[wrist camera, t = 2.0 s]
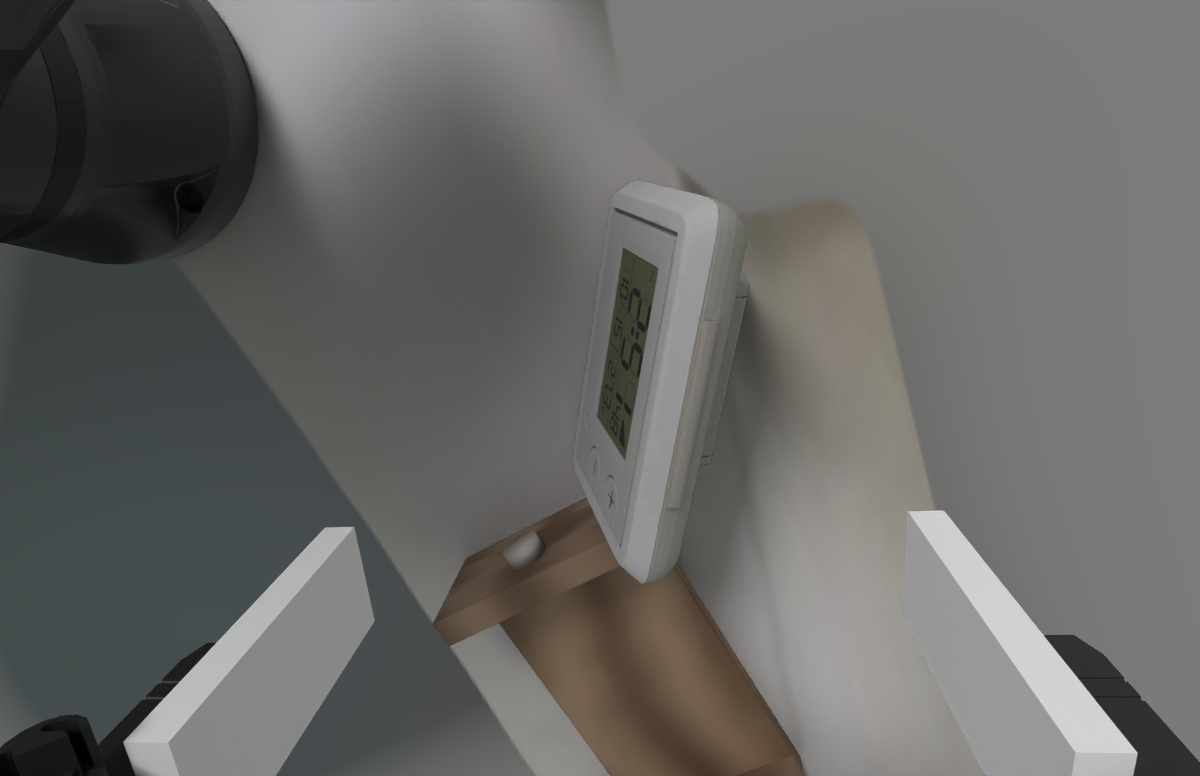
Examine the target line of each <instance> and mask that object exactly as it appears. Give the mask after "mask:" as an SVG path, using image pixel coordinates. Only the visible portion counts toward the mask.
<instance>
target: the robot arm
mask: <svg viewBox="0 0 1200 776" xmlns="http://www.w3.org/2000/svg"><path fill="white" fill-rule="evenodd" d="M256 152H257V116H256V108H255V102H254V96H253V92H252V88H251V84H250V80H249V77H248V74H247V71H246V68H245V65H244V63H243V60H242V58H241V55H240V53H239V51H238V49H237V47H236V44H235V42H234V41H233V39H232V37H231V35H230V33H229V31H228V30H227V28H226V27H225V25H224V23H223V22H222V20H221V19H220V17H219V16H218V15H217V13H216V12H215V10H214V9H213V8H212V7H211V5H210V4H209V3H208V2H207V0H0V243H4V244H9V245H13V246H18V247H23V248H27V249H32V250H37V251H41V252H46V253H51V254H56V255H60V256H64V257H69V258H74V259H78V260H83V261H88V262H94V263H103V264H134V263H142V262H147V261H152V260H158V259H164V258H169V257H173V256H177V255H180V254H183V253H186V252H188V251H191V250H193V249H195V248H197V247H199V246H201V245H202V244H204V243H205V242H207V241H208V240H210V239H211V238H212V237H214V236H215V235H216V234H217V233H218V232H219V231H220V230H221V229H222V228H223V227H224V226H225V225H226V224H227V223H228V222H229V221H230V219H231V218H232V217H233V215H234V214H235V213H236V211H237V209H238V208H239V206H240V204H241V202H242V200H243V198H244V196H245V194H246V192H247V189H248V187H249V184H250V181H251V177H252V174H253V170H254V165H255V159H256ZM902 617H903V619H904V621H905V623H906V625H907V627H908V629H909V631H910V632H911V634H912V636H913V638H914V640H915V642H916V644H917V646H918V648H919V650H920V652H921V654H922V655H923V657H924V659H925V661H926V663H927V665H928V667H929V669H930V671H931V673H932V675H933V677H934V679H935V680H936V682H937V684H938V686H939V688H940V690H941V692H942V694H943V696H944V698H945V700H946V702H947V703H948V705H949V707H950V709H951V711H952V713H953V715H954V717H955V719H956V721H957V723H958V725H959V727H960V728H961V730H962V732H963V734H964V736H965V738H966V740H967V742H968V744H969V746H970V748H971V750H972V751H973V753H974V755H975V757H976V759H977V761H978V763H979V765H980V767H981V769H982V771H983V773H984V775H985V776H1200V762H1199V761H1198V760H1197V759H1196V758H1195V757H1194V755H1193V754H1192V753H1191V752H1190V751H1189V750H1188V749H1187V748H1186V746H1185V745H1184V744H1183V743H1182V742H1181V741H1180V740H1179V739H1178V738H1177V736H1176V735H1174V733H1173V732H1172V731H1171V730H1170V729H1169V727H1167V725H1166V724H1165V723H1164V722H1163V721H1162V720H1161V718H1160V717H1159V716H1158V715H1157V714H1156V713H1155V712H1154V711H1153V710H1152V709H1151V707H1150V706H1149V705H1148V704H1147V703H1146V702H1145V701H1142V700H1141V696H1140V695H1139V694H1138V693H1137V691H1136V690H1135V689H1134V688H1133V687H1132V686H1131V685H1130V684H1129V683H1128V682H1125V681H1124V677H1123V676H1122V675H1121V674H1120V672H1119V671H1118V670H1117V669H1116V668H1115V667H1114V666H1113V665H1112V664H1111V663H1110V661H1109V660H1108V659H1107V658H1106V657H1105V656H1104V655H1103V654H1102V653H1100V652H1099V651H1097V650H1096V649H1094V648H1093V647H1091V646H1090V645H1088V644H1087V643H1085V642H1083V641H1082V640H1081V639H1079V638H1078V637H1076V636H1074V635H1043V634H1042V633H1041V632H1040V630H1039V629H1038V628H1037V627H1036V626H1035V624H1034V623H1033V622H1032V621H1031V619H1030V618H1029V617H1028V616H1027V614H1026V613H1025V612H1024V610H1023V609H1022V608H1021V607H1020V605H1019V604H1018V603H1017V602H1016V601H1015V599H1014V598H1013V597H1012V595H1011V594H1010V593H1009V592H1008V590H1007V589H1006V588H1005V587H1004V585H1003V584H1002V583H1001V582H1000V580H999V579H998V578H997V577H996V576H995V574H994V573H993V572H992V570H991V569H990V568H989V567H988V565H987V564H986V563H985V562H984V560H983V559H982V558H981V557H980V555H979V554H978V553H977V552H976V551H975V549H974V548H973V547H972V545H971V544H970V543H969V542H968V540H967V539H966V538H965V537H964V535H963V534H962V533H961V532H960V531H959V529H958V528H957V527H956V526H955V524H954V523H953V522H952V520H951V519H950V518H949V517H948V516H947V514H946V513H945V512H944V511H912V512H908V520H907V536H906V552H905V568H904V584H903V600H902ZM374 621H375V620H374V616H373V611H372V607H371V602H370V597H369V593H368V589H367V583H366V579H365V574H364V570H363V565H362V560H361V556H360V551H359V546H358V542H357V537H356V533H355V528H354V527H331V528H324V529H323V530H322V531H321V532H320V534H319V535H318V536H317V537H316V538H315V539H314V540H313V541H312V542H311V543H310V544H309V545H308V546H307V547H306V549H305V550H303V552H302V553H301V554H300V555H299V556H298V557H297V558H296V559H295V560H294V561H293V562H292V563H291V564H290V565H289V566H288V568H287V569H286V570H285V571H284V572H283V573H282V574H281V575H280V576H279V577H278V578H277V579H276V580H275V581H274V583H272V584H271V586H270V587H269V588H268V589H267V590H266V591H265V592H264V593H263V594H262V595H261V596H260V597H259V599H257V600H256V602H255V603H254V604H253V605H252V606H251V607H250V608H249V609H248V610H247V611H246V612H245V613H244V614H243V615H242V616H241V617H240V618H239V620H238V621H237V622H236V623H235V624H234V625H233V626H232V627H231V628H230V629H229V630H228V631H227V632H226V634H225V635H223V637H222V638H221V639H220V640H219V641H218V642H217V643H206V644H205V645H203V646H202V647H200V648H199V649H198V650H196V651H195V652H193V653H191V654H190V655H188V656H187V657H185V658H184V659H182V660H181V661H180V662H179V663H178V664H177V665H176V666H175V667H174V668H173V669H172V670H171V671H170V672H169V673H168V674H167V675H166V676H165V677H164V678H163V679H162V683H161V684H157V685H156V686H155V687H154V689H153V690H152V691H151V692H150V693H149V694H148V695H147V696H146V699H145V700H142V701H141V702H140V703H139V704H138V705H137V706H136V707H135V708H134V709H133V710H132V711H131V712H130V713H129V714H128V715H127V716H126V717H125V718H124V719H123V720H122V721H121V722H120V723H119V724H118V725H117V726H116V727H115V728H114V729H113V730H112V731H111V732H110V733H109V734H108V736H106V738H105V739H103V741H102V742H101V743H100V744H99V745H97V742H96V740H95V737H94V735H93V732H92V729H91V727H90V724H89V722H88V720H87V718H85V717H82V716H79V715H65V716H60V717H56V718H53V719H49V720H46V721H43V722H41V723H39V724H36V725H35V726H32V727H30V728H29V729H26V730H24V731H22V732H21V733H19V734H18V735H16V736H15V737H13V738H12V739H11V740H9V741H8V742H6V743H5V744H4V745H3V746H2V747H1V748H0V776H276V774H277V773H278V771H279V770H280V768H281V767H282V765H283V763H284V762H285V760H286V759H287V757H288V756H289V754H290V752H291V751H292V749H293V748H294V746H295V745H296V743H297V742H298V740H299V738H300V737H301V735H302V734H303V732H304V730H305V729H306V727H307V726H308V724H309V723H310V721H311V720H312V718H313V717H314V715H315V713H316V712H317V710H318V709H319V707H320V706H321V704H322V702H323V701H324V699H325V698H326V696H327V695H328V693H329V691H330V690H331V688H332V687H333V685H334V684H335V682H336V681H337V679H338V677H339V676H340V674H341V673H342V671H343V670H344V668H345V667H346V665H347V663H348V662H349V660H350V659H351V657H352V655H353V654H354V652H355V651H356V649H357V648H358V646H359V645H360V643H361V642H362V640H363V638H364V637H365V635H366V634H367V632H368V631H369V629H370V627H371V626H372V624H373V623H374Z"/></svg>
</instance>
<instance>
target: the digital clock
mask: <svg viewBox="0 0 1200 776" xmlns="http://www.w3.org/2000/svg"><path fill="white" fill-rule="evenodd" d="M746 240H747V234H746V228H745V225H744V223H743V221H742V220H741V218H740V216H739V215H738V214H737V213H736V212H735V211H734V210H733V209H732V208H731V207H730V206H728V205H727V204H725V203H723V202H721V201H719V200H716V199H713V198H710V197H706V196H703V195H699V194H695V193H690V192H686V191H682V190H678V189H674V188H670V187H666V186H661V185H657V184H653V183H649V182H645V181H640V180H634V181H632V182H630V183H629V184H627V185H626V186H624V187H623V188H621V189H620V190H618V191H617V192H616V193H614V195H613V197H612V200H611V204H610V208H609V215H608V221H607V227H606V234H605V240H604V247H603V254H602V260H601V267H600V274H599V281H598V288H597V294H596V301H595V308H594V315H593V322H592V328H591V335H590V342H589V349H588V356H587V362H586V369H585V376H584V383H583V390H582V396H581V403H580V410H579V417H578V424H577V431H576V438H575V446H574V453H573V466H574V471H575V474H576V476H577V478H578V480H579V483H580V485H581V487H582V489H583V491H584V493H585V495H586V497H587V499H588V502H589V504H590V506H591V508H592V510H593V512H594V514H595V516H596V518H597V521H598V523H599V525H600V527H601V529H602V531H603V533H604V535H605V537H606V539H607V542H608V544H609V546H610V548H611V550H612V552H613V554H614V556H615V558H616V560H617V561H618V563H619V564H620V566H621V567H623V568H624V569H625V570H626V571H627V572H628V573H629V574H630V575H631V576H633V577H634V578H635V579H636V580H637V581H639V582H640V583H642V584H644V583H652V582H655V581H657V580H660V579H661V578H663V577H664V576H665V575H666V574H667V573H668V572H669V571H670V570H671V569H672V568H673V567H674V565H675V564H676V563H677V561H678V558H679V555H680V552H681V547H682V543H683V539H684V534H685V530H686V526H687V521H688V517H689V512H690V508H691V503H692V498H693V494H694V489H695V484H696V480H697V475H698V470H699V466H701V465H708V464H709V463H710V462H711V459H712V455H713V450H714V445H715V441H716V436H717V432H718V427H719V423H720V418H721V414H722V409H723V405H724V400H725V396H726V391H727V386H728V382H729V377H730V373H731V368H732V364H733V359H734V355H735V350H736V346H737V341H738V337H739V332H740V327H741V323H742V318H743V314H744V309H745V305H746V300H747V296H748V291H749V287H750V285H749V282H748V281H747V279H746V278H745V277H744V275H743V274H742V273H741V268H742V263H743V258H744V253H745V248H746Z"/></svg>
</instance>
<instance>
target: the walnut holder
mask: <svg viewBox="0 0 1200 776" xmlns="http://www.w3.org/2000/svg"><path fill="white" fill-rule="evenodd" d="M497 623H500V625H501V626H502V627H503V629H504V630H505V632H506V633H507V634H508V636H509V637H510V638H511V640H512V641H513V643H514V644H515V645H516V647H517V648H518V649H519V651H520V652H521V654H522V655H523V656H524V658H525V659H526V660H527V662H528V663H529V665H530V666H531V667H532V669H533V670H534V671H535V673H536V674H537V676H538V677H539V678H540V680H541V681H542V682H543V684H544V685H545V686H546V688H547V689H548V691H549V692H550V693H551V695H552V696H553V697H554V699H555V700H556V702H557V703H558V704H559V706H560V707H561V708H562V710H563V711H564V713H565V714H566V715H567V717H568V718H569V719H570V721H571V722H572V724H573V725H574V726H575V728H576V729H577V730H578V732H579V733H580V735H581V736H582V737H583V739H584V740H585V741H586V743H587V744H588V746H589V747H590V748H591V750H592V751H593V752H594V754H595V755H596V757H597V758H598V759H599V761H600V762H601V763H602V765H603V766H604V767H605V769H606V770H607V772H608V773H609V774H610V776H804V772H803V768H802V764H801V759H800V756H799V754H798V752H797V751H796V749H795V748H794V746H793V745H792V743H791V741H790V740H789V738H788V737H787V735H786V734H785V732H784V730H783V729H782V727H781V726H780V724H779V722H778V721H777V719H776V718H775V716H774V715H773V713H772V711H771V710H770V708H769V707H768V705H767V704H766V702H765V700H764V699H763V697H762V696H761V694H760V693H759V691H758V689H757V688H756V686H755V685H754V683H753V682H752V680H751V678H750V677H749V675H748V674H747V672H746V670H745V669H744V667H743V666H742V664H741V663H740V661H739V659H738V658H737V656H736V655H735V653H734V652H733V650H732V648H731V647H730V645H729V644H728V642H727V641H726V639H725V637H724V636H723V634H722V633H721V631H720V630H719V628H718V626H717V625H716V623H715V622H714V620H713V619H712V617H711V615H710V614H709V612H708V611H707V609H706V607H705V606H704V604H703V603H702V601H701V600H700V598H699V596H698V595H697V593H696V592H695V590H694V589H693V587H692V585H691V584H690V582H689V581H688V579H687V578H686V576H685V574H684V573H683V571H682V570H681V568H680V567H679V565H678V563H676V564H675V565H674V567H673V568H672V569H671V570H670V571H669V572H668V573H667V574H666V575H665V576H664V577H663V578H661V579H660V580H657V581H655V582H652V583H644V584H642V583H640V582H639V581H637V580H636V579H635V578H634V577H633V576H631V575H630V574H629V573H628V572H627V571H626V570H625V569H624V568H623V567H621V566H620V564H619V563H618V561H617V560H616V558H615V556H614V554H613V552H612V550H611V548H610V546H609V544H608V542H607V539H606V537H605V535H604V533H603V531H602V529H601V527H600V525H599V523H598V521H597V518H596V516H595V514H594V512H593V510H592V508H591V506H590V504H589V502H588V499H587V498H585V499H583V500H581V501H579V502H577V503H575V504H573V505H571V506H569V507H567V508H565V509H563V510H561V511H559V512H557V513H555V514H553V515H551V516H549V517H547V518H545V519H543V520H541V521H539V522H537V523H535V524H533V525H531V526H529V527H528V528H526V529H524V530H522V531H520V532H518V533H516V534H514V535H512V536H510V537H508V538H506V539H504V540H502V541H500V542H498V543H496V544H494V545H492V546H490V547H488V548H486V549H484V550H482V551H480V552H478V553H476V554H474V555H472V556H470V557H468V558H466V560H465V562H464V564H463V566H462V568H461V570H460V572H459V574H458V576H457V577H456V579H455V581H454V583H453V585H452V587H451V589H450V591H449V593H448V595H447V597H446V599H445V601H444V603H443V605H442V607H441V609H440V611H439V613H438V615H437V617H436V619H435V621H434V623H433V626H434V627H435V628H436V630H437V631H438V632H439V634H440V635H441V636H442V638H443V639H444V640H445V642H446V643H447V644H448V646H451V645H453V644H455V643H457V642H459V641H461V640H463V639H465V638H468V637H470V636H472V635H474V634H476V633H478V632H480V631H482V630H485V629H487V628H489V627H491V626H493V625H495V624H497Z"/></svg>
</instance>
